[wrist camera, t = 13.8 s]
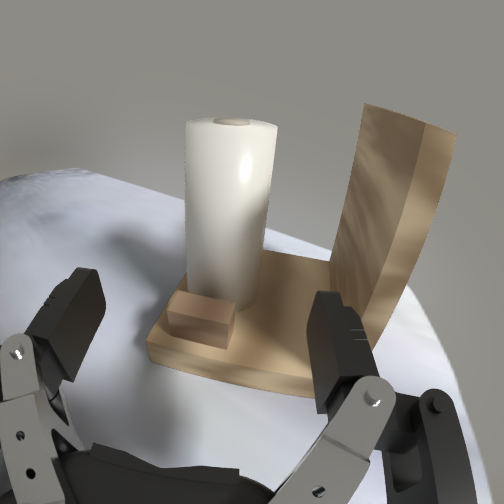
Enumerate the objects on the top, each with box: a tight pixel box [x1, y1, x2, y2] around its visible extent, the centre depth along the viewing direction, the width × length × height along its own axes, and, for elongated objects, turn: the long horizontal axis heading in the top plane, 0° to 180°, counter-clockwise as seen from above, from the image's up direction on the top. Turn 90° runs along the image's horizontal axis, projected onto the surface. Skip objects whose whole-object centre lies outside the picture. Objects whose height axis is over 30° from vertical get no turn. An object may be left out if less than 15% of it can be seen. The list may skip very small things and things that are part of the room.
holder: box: [145, 103, 457, 398], centre depth 20 cm, size 14×14×18 cm
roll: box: [185, 117, 277, 312], centre depth 20 cm, size 6×6×13 cm
